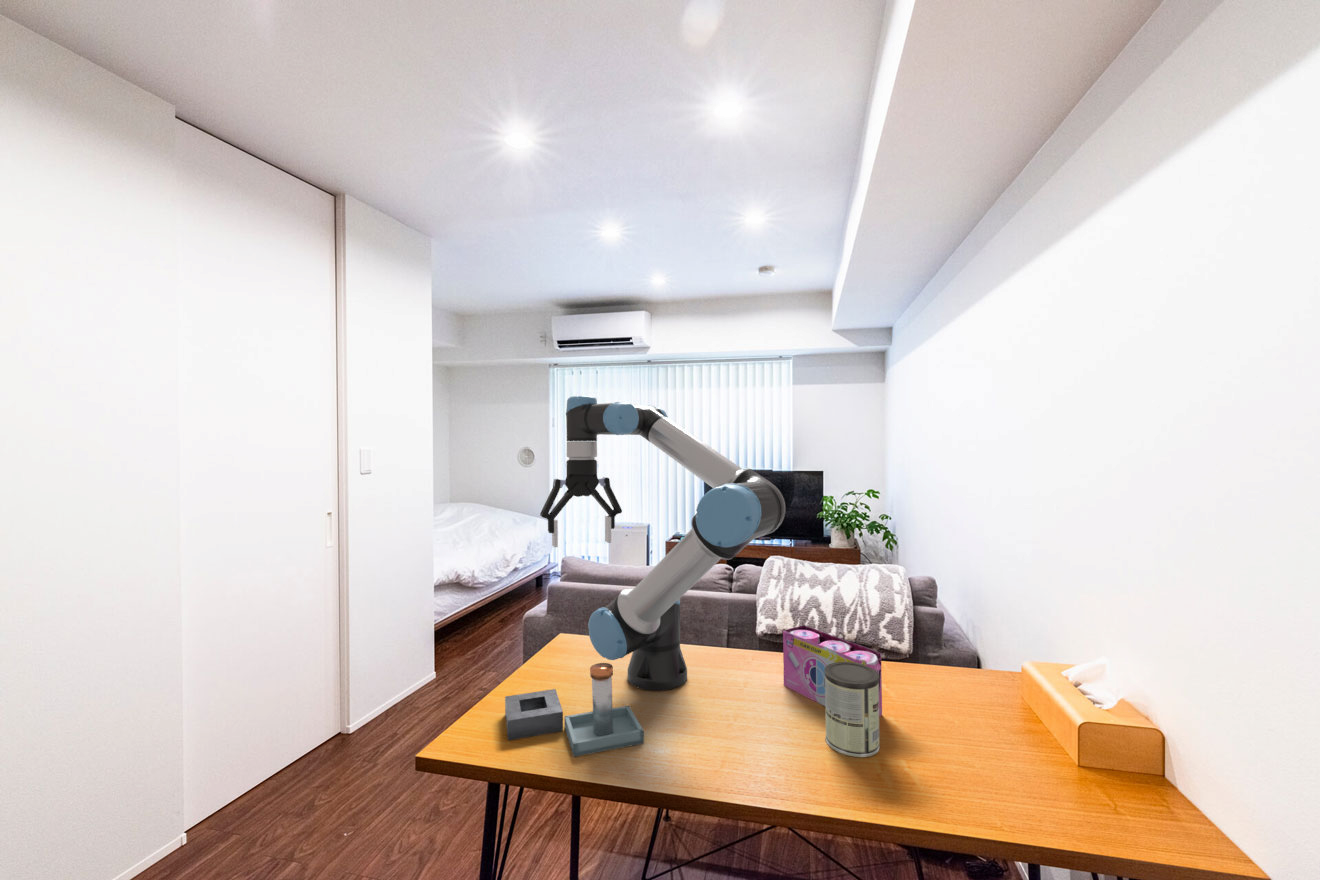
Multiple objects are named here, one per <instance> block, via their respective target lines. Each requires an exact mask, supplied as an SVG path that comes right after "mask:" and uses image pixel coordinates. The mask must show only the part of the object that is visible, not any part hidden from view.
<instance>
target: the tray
mask: <svg viewBox="0 0 1320 880" xmlns="http://www.w3.org/2000/svg"><path fill="white" fill-rule="evenodd" d="M612 708H613V733H612V734H610V735H606V736H596V735H595V734H594V731H593V711H589V712H588V711H587V712H582V713H576V714H571V715H564V730H565V734H566V737H567V740H568V744H569V746H570V750H571V752H572V757H579V756H585V755H590V754H595V753H600V752H605V751H611V750H617V749H622V748H626V747H631V746H637V745H642V744H645V730H644V729H643V726H642V725H641V724H640V722H639V719H638V718H637V716H636V715H635V713H634V711H633V709H632V708H631V707H630V705H624V706H623V705H622V706H618V707H612Z"/></svg>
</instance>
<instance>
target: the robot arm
mask: <svg viewBox="0 0 1320 880" xmlns="http://www.w3.org/2000/svg"><path fill="white" fill-rule="evenodd" d="M565 416H566V421H565V422H566V426H565V427H566V457H567V458H568V459H566V476H565V479H560V478H555V479H553V483H552V489H551V491H550V493H549V494H548V497H547V498H546V501H545V503H544V505H543V507H542V510H541V512H540V517H541V518H543V519H546V520H547V531H548V533H549V534H551V546H552V547H553V548H558V546H559V545H558V539H559V538H558V537H559V536H558V534H559V532H558V527H559V525H558V522H559V521H558V519H556V518H557V516H558V515H559V514H560V512H561V511H562V510H563V509H564V507H565V506H566V505H567V503H569V501H570V500H571V499H572V498H573V497H578V498H579V497H583V496H584V497H590V496H592V497H593V498H594V499H595V500H596V502H597V503H598V504H599V506H601V508H603V510H604V511H605V512H606V514H607V515H604V534H605V535H604V542H606V543H607V544H611V543H612V530H614V529H615V528H616V527H615V525H616V519H615V518H616V517H617V515H618V514H622V512H623V509H622V507H621V506H620V504H619V502H618V499H617V497H616V496H615V494H614V490H613V489H612V487H611V483H610V482H611V481H610V478H609V477H606V476H603V477H601V478H598V461H597V459H595V458H597V457H598V443H597V441H598V436H599V435H603V436H604V435H608V436H609V435H610V436H611V435H614V436H624V435H625V436H627V435H629V436H633V435H634V436H641V437H642V438H644V439H645V440H646V441H648V442H649V443H651V444H652V445H654V446H655V447H656V448H658V449H660V450H661V451H662V452H663V453H665V454H666V455H668V457H670V458H671V459H673V461H675V462H676V463H678V464H680V466H682V467H684V468H685V469H686V470H688V471H689V472H691V473H692V474H693V475H695V476H696V477H698V479H700V480H701V481H703V482H704V483H705V484H707V485H708V486H709V487H711V489H710V490H708V491H707V492H706V493H704V495H703V496H702V497H701V498H700V500H699V502H698V504H697V506H696V510H695V511H696V514H695V515H693V517H692V519H691V521H690V522H691V529H690V530H689V531H688V532H687V533H686V535H684V537H682V538H681V539H680V541H678V543H677V544H676V545H674V547H672V548H671V550H670V551H669V552H668V553H666V555H665V556H664V557H663V558H662V559H661V560H660V561H659V562H658V563H657V564H656V565H655V566H654V567H653V568H652V569H651V570H650V571H649V572H648V574H647V575H645V577H643V579H641V581H640V582H639V583H638V584H637V585H635V587H629V588H625V589H623V590H622V591H620V593H619V594H618V595H617V596H616V597H615V598H614V599H613V600H612V601H611V602H610V603H608V604H607V605H606V606H604V607H598V608H597V609H596V610H595V611H593V612H592V613H591V614H590V617H589V620H588V624H587V627H588V636H589V639H590V642H591V644H592V647H593V648H594V650H595V651H596V652H597V654H599V655H600V656H601V657H602V658H604V659H607V660H608V661H615V660H619V659H623V658H624V657H626V656H628V655H630V654H631V657H630V661H629V664H628V667H627V681H628V682H629V684H630V685H632V686H633V687H635V688H637V689H640V690H645V691H653V692H657V691H658V692H659V691H669V690H673V689H677V688H679V687H682V686H683V685H684V684H685V683H686V682H687V680H688V668H687V665H686V661H685V658H684V654H683V652H682V649H681V598H682V597H683V596H684V595H685V594H686V593H687V592H688V591H689V590H690V589H691V588H692V587H694V585H696V583H698V581H699V580H700V579H702V578H703V577H704V576H705V575H706V574H707V573H708V572H709V571H710V570H711V569H712V568H714V566H716V565H717V563H718V562H719V561H721V560H725V561H727V560H728V561H729V560H732V559H734V558H735V557H736V556H737V555H738V554H739V553H741V551H742V550H743V549H744V548H746V547H747V546H748V545H749V544H750V543H751V542H752V541H754V540H755V539H757V538H761V537H765V536H767V535H769V534H772V533H774V532H775V531H776V530H778V528H779V527H780V526H781V525H782V523H783V521H784V519H785V516H786V515H785V514H786V502H785V498H784V496H783V494H782V492H781V491H780V489H779V488H778V487H777V486H776V485H774V484H773V483H772V482H771V481H769V480H768V479H766V478H765V477H764V476H762V475H760V474H759V473H757V472H756V471H755V470H753V469H752V468H745V469H743V468H742V467H740V465H739V466H738V465H737V463H735V462H733V461H732V460H730V459H728V458H727V457H726V456H724V455H722V454H721V453H720V452H718V451H717V450H715V449H714V448H712V447H711V446H709V445H708V444H706V443H705V442H703V441H702V440H700V439H698V438H697V437H696V436H695V435H693V434H692V433H690V432H689V431H687V430H685V429H684V428H682V427H681V426H680V425H678V424H676V423H675V422H674V421H672V420H671V419H669V418H668V415H667V412H666V411H665V410H664V409H663V408H662V407H659V406H655V405H650V404H649V405H643V404H641V405H640V404H632V403H630V402H623V401H622V402H619V401H615V402H608V403H598V400H597V398H596V397H595V396H591V395H589V396H587V395H579V396H578V395H576V396H575V395H573V396H570V397H568V398H567V400H566V411H565ZM599 484H600V486H601V487H602V488H603V490H604V492H605V494H606V496H607V498H608V500H609V503H610V504H611V506H612V507H611V506H610V505H609V504H608V502H606V500H605V499H604V498H603V497H602V496H601V494H600V493H599V491H598V490H597V489H596V488H597V487H598V485H599ZM563 486H565V487H566V488H567V489H566V491H565V492H564V494H563V496H562V497H561V498H560V499H559V500H558V502H557V503H556V504H555V506H553V505H554V502H555V501H556V498H557V496H558V494H559V492H560V489H561V488H563ZM552 507H553V508H552Z"/></svg>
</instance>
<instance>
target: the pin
mask: <svg viewBox="0 0 1320 880" xmlns="http://www.w3.org/2000/svg"><path fill="white" fill-rule="evenodd" d="M589 673H590V674H589V675H590V678H591V689H592V690H591V691H592V693H591V694H592V695H591V696H592V712H593V731H594V734H595V735H596V736H606V735H610V734H612V733H613V708H614V707H613V684H612V683H613V679H612V677H613V675H614V667H613V665H612V664H611V663H607V662H600V663H599V662H598V663H595V664H592V665H591V666H590V667H589Z"/></svg>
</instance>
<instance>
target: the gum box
mask: <svg viewBox="0 0 1320 880" xmlns="http://www.w3.org/2000/svg"><path fill="white" fill-rule="evenodd" d="M782 641H783V642H782V646H783V649H782V651H783V652H782V653H783V656H782V657H783V661H782V662H783V686H784V687H785V688H786V687H787V688H788V689H789V690H792V691H794V692H796V693H798V694H800V695H803V696H804V697H806V698H808V699H809V700H811V701H813V702H815V703H818V704H820V705H822V706H824V707H825V673H824V669H825V667H826V666H827V665H829V664H831V663H836V662H852V663H858V664H862V665H865V666H868V667H870V668H872V669H874V670H875V671H877V672H878V674H879V717H881V716H883V694H882V693H883V692H882V691H883V689H882V682H883V681H882V653H881V652H878V651H877V650H873V649H871V648H869V647H867V646H864V645H860V644H858V643H855V642H851V641H848V640H846V639H843V638H841V637H838V636H835V635H831V634H829V633H828V632H827V633H826V632H824V631H821V630H819V629H815V628H813V627H810V626H808V625H806V624H804V625H799V626H796V627H795V626H794V627H791V628H788V629H784V630H782Z"/></svg>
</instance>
